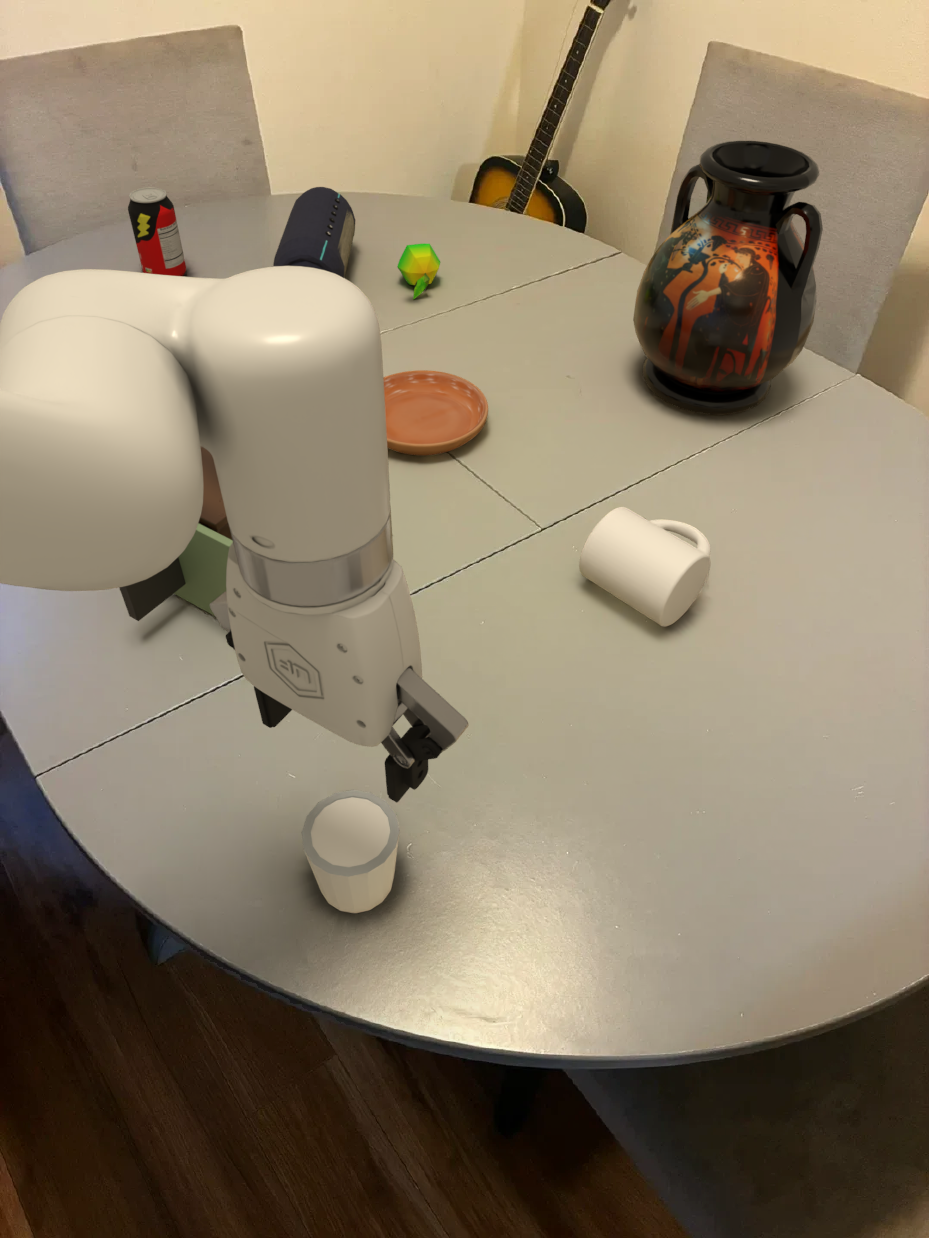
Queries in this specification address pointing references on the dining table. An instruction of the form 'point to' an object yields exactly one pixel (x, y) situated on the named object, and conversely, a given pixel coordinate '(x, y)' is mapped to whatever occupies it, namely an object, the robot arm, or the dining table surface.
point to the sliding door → (184, 576)
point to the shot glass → (352, 849)
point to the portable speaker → (318, 232)
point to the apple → (419, 266)
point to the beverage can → (156, 232)
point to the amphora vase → (731, 281)
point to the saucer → (431, 412)
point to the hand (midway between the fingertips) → (343, 746)
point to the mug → (647, 563)
